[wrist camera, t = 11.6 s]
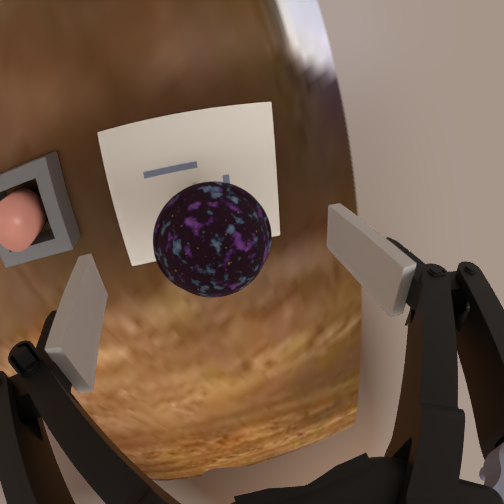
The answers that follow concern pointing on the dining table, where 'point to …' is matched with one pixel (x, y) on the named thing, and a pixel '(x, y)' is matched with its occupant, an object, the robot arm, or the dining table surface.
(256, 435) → the dining table surface
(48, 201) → the button housing
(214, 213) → the lollipop
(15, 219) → the button
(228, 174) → the paper pad
